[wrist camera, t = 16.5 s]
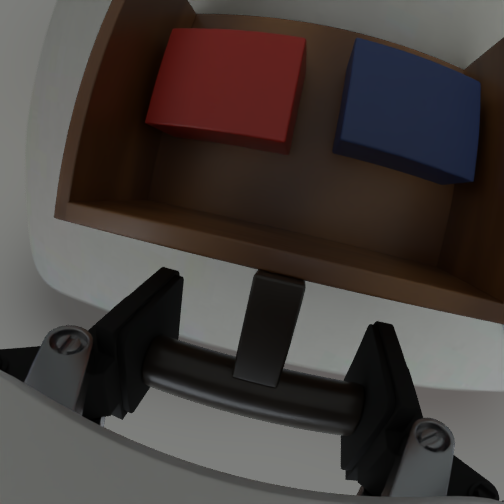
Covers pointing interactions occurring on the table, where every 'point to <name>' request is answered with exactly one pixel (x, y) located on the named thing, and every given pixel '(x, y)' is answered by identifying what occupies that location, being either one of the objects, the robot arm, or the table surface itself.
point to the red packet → (230, 87)
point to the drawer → (278, 211)
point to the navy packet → (408, 114)
